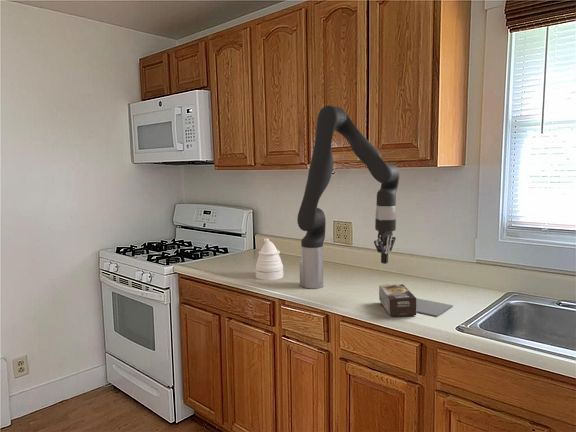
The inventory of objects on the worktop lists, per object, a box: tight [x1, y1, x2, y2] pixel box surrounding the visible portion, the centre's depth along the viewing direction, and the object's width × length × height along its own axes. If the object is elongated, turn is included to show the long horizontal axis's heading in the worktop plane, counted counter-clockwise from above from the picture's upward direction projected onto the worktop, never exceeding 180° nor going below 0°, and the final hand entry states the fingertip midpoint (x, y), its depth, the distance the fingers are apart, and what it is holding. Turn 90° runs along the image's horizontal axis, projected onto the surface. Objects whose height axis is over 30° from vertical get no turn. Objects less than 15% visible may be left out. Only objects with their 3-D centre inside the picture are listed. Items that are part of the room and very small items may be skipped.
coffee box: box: [378, 283, 417, 318], centre depth 156 cm, size 9×6×16 cm
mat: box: [416, 297, 454, 318], centre depth 159 cm, size 16×14×1 cm
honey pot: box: [255, 237, 284, 281], centre depth 205 cm, size 13×13×18 cm
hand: (384, 263), depth 167 cm, fingers closed
